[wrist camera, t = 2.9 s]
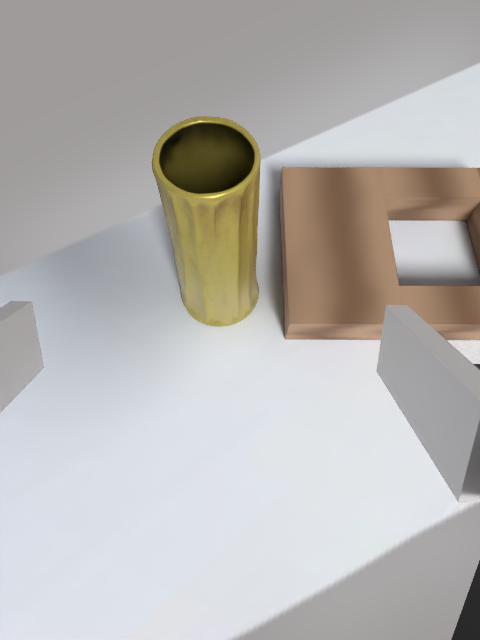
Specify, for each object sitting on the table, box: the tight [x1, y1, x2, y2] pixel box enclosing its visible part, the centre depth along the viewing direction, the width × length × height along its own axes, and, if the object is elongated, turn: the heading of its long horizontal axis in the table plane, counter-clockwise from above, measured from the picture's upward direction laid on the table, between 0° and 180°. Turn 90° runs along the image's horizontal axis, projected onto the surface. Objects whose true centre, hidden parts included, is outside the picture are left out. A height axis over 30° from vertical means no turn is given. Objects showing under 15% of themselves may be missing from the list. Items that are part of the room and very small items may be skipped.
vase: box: [152, 116, 260, 326], centre depth 26 cm, size 6×6×14 cm
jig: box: [279, 168, 480, 340], centre depth 32 cm, size 18×14×3 cm
